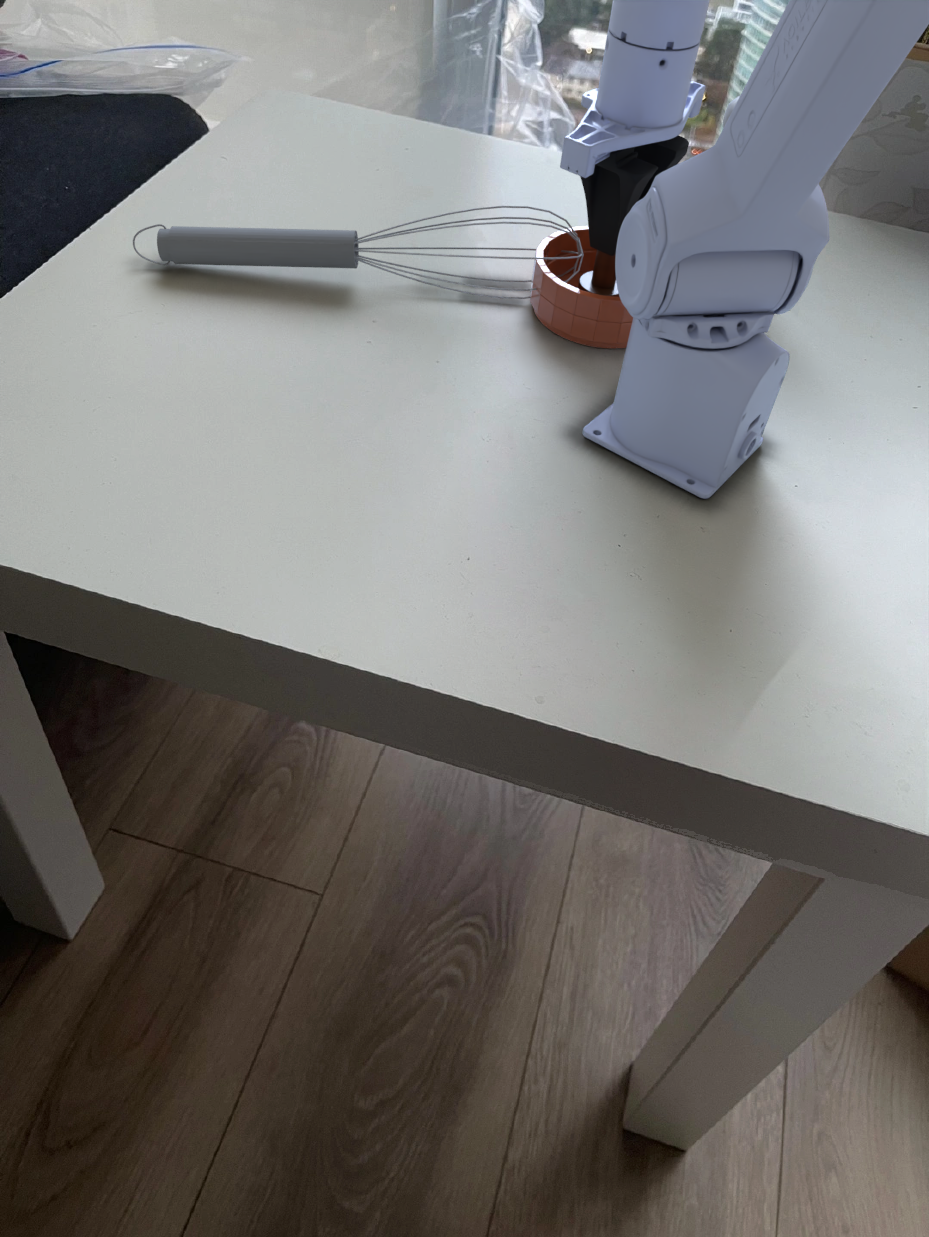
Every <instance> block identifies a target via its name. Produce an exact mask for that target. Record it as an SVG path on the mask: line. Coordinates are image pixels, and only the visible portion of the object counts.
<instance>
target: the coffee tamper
mask: <svg viewBox="0 0 929 1237" xmlns="http://www.w3.org/2000/svg"><path fill="white" fill-rule="evenodd" d="M615 257H616V254H615V255H614V256H610V255H608V254H606V253H603V252H601V251H599V250H597V252H596V258H595V263H594V268H593V271H589V272H586V273H584V274H583V275H582V276H581V277H580V279H579V284H578V289H580V290H583V291H587V292H590V293H594V294H598V295H603V296H614V297H619V293H618V289H617V283H616V273H615Z"/></svg>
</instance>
